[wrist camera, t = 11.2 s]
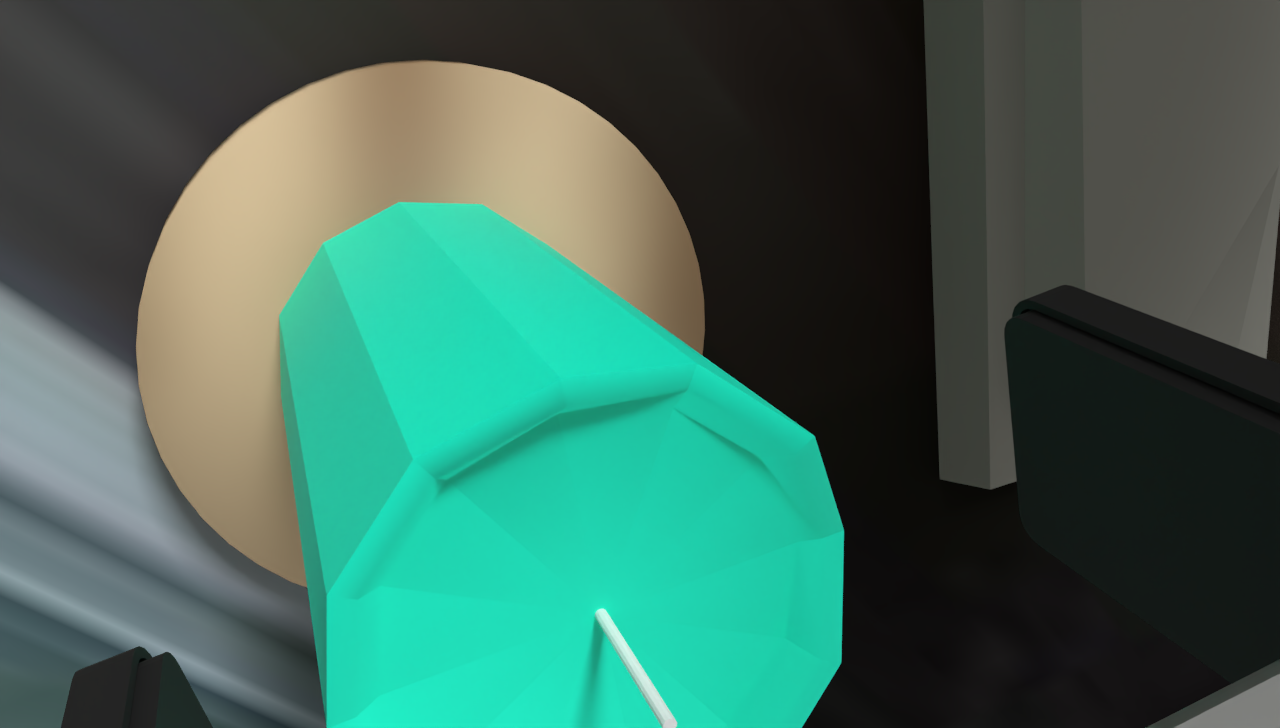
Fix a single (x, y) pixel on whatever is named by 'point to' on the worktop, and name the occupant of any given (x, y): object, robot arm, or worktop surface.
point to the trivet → (338, 200)
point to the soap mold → (1093, 181)
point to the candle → (541, 497)
